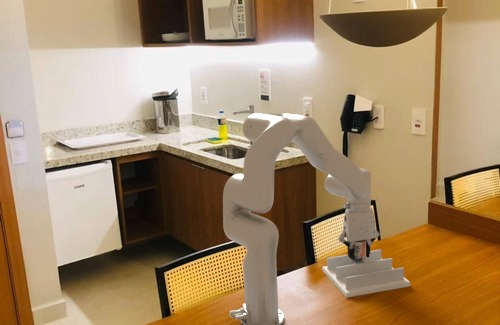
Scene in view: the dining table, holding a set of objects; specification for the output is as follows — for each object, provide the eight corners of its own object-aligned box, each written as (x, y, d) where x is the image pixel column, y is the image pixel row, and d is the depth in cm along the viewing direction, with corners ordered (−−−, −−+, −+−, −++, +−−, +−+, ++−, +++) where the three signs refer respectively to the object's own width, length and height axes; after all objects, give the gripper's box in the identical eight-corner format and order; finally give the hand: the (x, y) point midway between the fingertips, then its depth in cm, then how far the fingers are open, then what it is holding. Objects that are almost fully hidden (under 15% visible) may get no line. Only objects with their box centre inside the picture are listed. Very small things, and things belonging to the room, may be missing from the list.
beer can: (349, 266, 175) (349, 233, 172) (354, 261, 179) (354, 228, 176) (364, 268, 173) (364, 235, 170) (367, 263, 177) (368, 230, 174)
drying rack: (346, 297, 162) (345, 281, 160) (322, 270, 180) (321, 256, 179) (410, 286, 166) (410, 270, 165) (380, 261, 185) (380, 246, 184)
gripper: (339, 212, 166) (339, 265, 170) (388, 206, 169) (387, 257, 174) (330, 205, 173) (331, 256, 177) (377, 199, 176) (376, 249, 181)
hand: (358, 256), depth 175 cm, fingers closed on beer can, 4 cm apart
